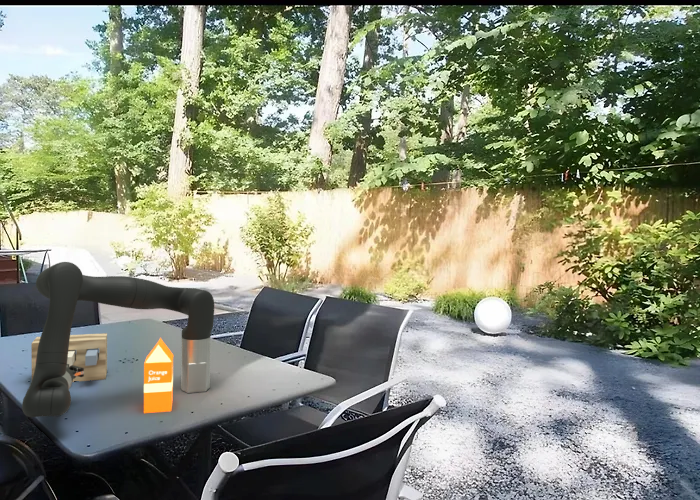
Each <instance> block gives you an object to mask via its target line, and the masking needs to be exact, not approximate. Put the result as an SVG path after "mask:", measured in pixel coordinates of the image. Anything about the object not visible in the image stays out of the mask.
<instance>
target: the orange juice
mask: <svg viewBox="0 0 700 500" xmlns="http://www.w3.org/2000/svg"><path fill="white" fill-rule="evenodd" d="M174 357H175V356H174V353H172V351H171V349H170V348H169V347H168V346H167V345H166V343H165V342H164V341H163V339H162V337H159V339H158V341H157V342H156V343H155V345H154V346H153V348H152V349H151V350H150V351H149V353H148V355H146V358H145V360H144V363H143V414H150V413H151V414H152V413H165V412H172V409H173V408H172V407H173V401H174V400H173V398H174V394H173V393H174V391H173V390H174V389H173V388H174Z"/></svg>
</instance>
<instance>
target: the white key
mask: <svg viewBox="0 0 700 500" xmlns="http://www.w3.org/2000/svg"><path fill="white" fill-rule="evenodd" d="M75 359H76V350H68V359H67V364H69V367H70V366H71V365H73V364H74V361H75Z"/></svg>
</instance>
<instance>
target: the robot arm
mask: <svg viewBox="0 0 700 500" xmlns="http://www.w3.org/2000/svg"><path fill="white" fill-rule="evenodd" d="M35 286H36V289H37V291H38V292H39V293H40V294H41V295H42V296H43V297H44V298H46V299H49V304H48V305H49V307H48V311H47V317H46V320H45V324H44V325H43V329H42V331H41V336H39V337H40V341H39V345H38V350H37V358H36V366H35V371H34V375H33V378H32V377H31V381H30V383H29V386H28V388H27V391H26V393H25V395H24V397H23V400H22V404H21V408H22V412H23V414H24V415H25V416H26V417H29V418H42V417H57V416H62V415H65V414H66V413H67V412H68V410H70V407H71V403H72V396H71V392H70V391H71V390H70V389H71V387H72V383H73V382H72V381H73V379H74V378H76V377H78V376H79V377H83V376H84V368H82V367H78V366H74V365H71V366H70V367H69V364H67V359H68V349H69V340H70V335H71V332H72V325H73V322H74V321H73V320H74V316H75V311H76V308H77V307H76V306H77V303H78V301H84V302H92V303H98V304H102V305H108V306H113V307H119V308H127V309H133V310H134V309H135V310H160V309H162V310H169V311H173V312H176V313H180V314H184V315H186V316H187V326H185V327H183V329H181V350H180V351H181V353H180V354H181V356H180V357H181V358H180V363H181V364H180V390H181V391H183V392H186V393H187V394H192V393H201V392H207V390H209V389H210V387H211V340H212V339H211V335H212V334H211V333H212V330H213V327H214V322H215V321H214V319H215V299H214V296H213V295H212V293H211V292H210V291H208V290H205V289H200V288H197V287H195V288H194V287H179V286H178V287H176V286H175V287H174V286H168V285H164V284H161V283H158V282H155V281H152V280H147V279H144V278H138V277H133V276H132V277H131V276H124V275H123V276H121V275H119V276H117V275H116V276H114V275H113V276H110V275H109V276H108V275H107V276H91V275H85V274H83V273H82V270H81V269H80V267H79V266H77V265H76V264H75V263H73V262H70V261H61V262H58V263H55V264H53V265H51V266H49V267H47V268H46V269H44V270H42V272H40V273H39V275H38V276H37V278H36V281H35Z"/></svg>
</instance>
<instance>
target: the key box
mask: <svg viewBox="0 0 700 500" xmlns="http://www.w3.org/2000/svg"><path fill="white" fill-rule="evenodd" d="M40 337H41V336H36V337H35V338H34V339H33V341H32V342H31V346H30V347H31V350H30V351H31V379H32V378H33V375H34V371H35V366H36V358H37V350H38V345H39V341H40ZM96 348H99V355H98V360H97V364H96V365H89V366H85V356H86V353H87V350H88V349H96ZM68 350H76V359H75V361H74V364H73V365H74V366H78V367H82V368H84V376H83V377H79V376H78V377H76V378H74V379H73V381H72V383H75V382H74V381H79V382H87V381H89V382H90V380H91V381H99V380H100V381H101V380H103V381H104V380H106V379H107V372H108V332H105V333H86V334H85V333H84V334H70V340H69V349H68Z"/></svg>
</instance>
